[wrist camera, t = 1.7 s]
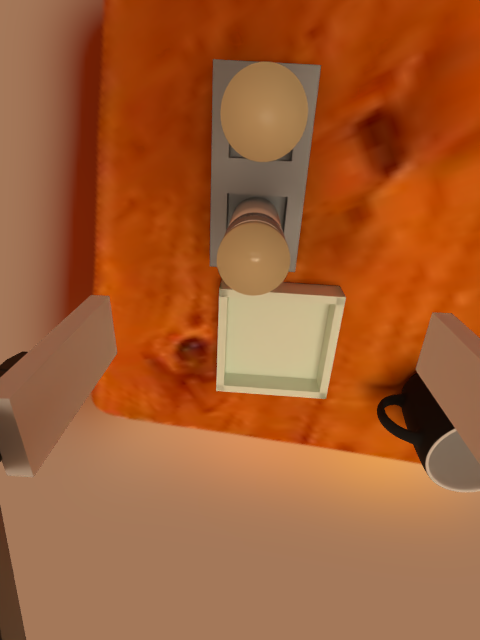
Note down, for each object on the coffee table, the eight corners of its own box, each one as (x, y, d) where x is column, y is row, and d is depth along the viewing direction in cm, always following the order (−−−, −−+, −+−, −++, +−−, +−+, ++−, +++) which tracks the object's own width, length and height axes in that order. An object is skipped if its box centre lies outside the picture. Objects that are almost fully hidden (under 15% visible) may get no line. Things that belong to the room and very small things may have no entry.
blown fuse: (232, 194, 33) (217, 221, 22) (282, 197, 33) (294, 226, 22) (230, 244, 35) (215, 293, 24) (277, 247, 35) (286, 297, 24)
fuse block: (216, 65, 29) (187, 14, 17) (316, 70, 29) (354, 22, 17) (212, 258, 36) (190, 314, 24) (292, 263, 36) (308, 322, 24)
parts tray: (222, 278, 37) (219, 288, 34) (339, 285, 37) (345, 297, 34) (219, 375, 42) (216, 390, 40) (321, 382, 42) (325, 398, 39)
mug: (483, 361, 40) (549, 426, 31) (454, 424, 44) (505, 497, 35) (374, 350, 40) (408, 412, 31) (356, 413, 44) (381, 484, 35)
